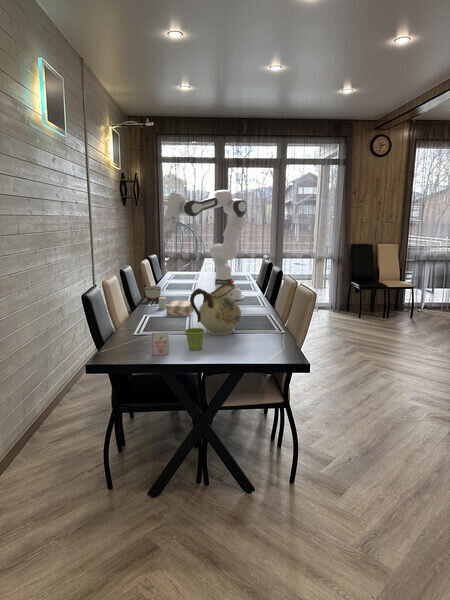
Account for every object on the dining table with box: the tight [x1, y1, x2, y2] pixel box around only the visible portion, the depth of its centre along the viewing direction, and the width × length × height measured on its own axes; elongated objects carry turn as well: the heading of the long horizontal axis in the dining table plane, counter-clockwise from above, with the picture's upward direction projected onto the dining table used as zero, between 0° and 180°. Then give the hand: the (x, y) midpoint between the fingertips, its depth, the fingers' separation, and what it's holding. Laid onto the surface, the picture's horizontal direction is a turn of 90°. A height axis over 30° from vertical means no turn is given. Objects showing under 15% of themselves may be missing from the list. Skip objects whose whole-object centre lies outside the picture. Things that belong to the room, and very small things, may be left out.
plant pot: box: [184, 327, 206, 351], centre depth 195 cm, size 9×9×9 cm
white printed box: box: [151, 332, 170, 357], centre depth 187 cm, size 4×7×10 cm, turn 90°
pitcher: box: [189, 283, 242, 336], centre depth 218 cm, size 22×24×25 cm
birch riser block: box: [166, 300, 195, 316], centre depth 264 cm, size 14×16×6 cm
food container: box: [143, 285, 162, 303], centre depth 298 cm, size 12×6×10 cm, turn 84°
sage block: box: [158, 296, 168, 310], centre depth 275 cm, size 4×4×7 cm
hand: (167, 238), depth 273 cm, fingers open, 8 cm apart
